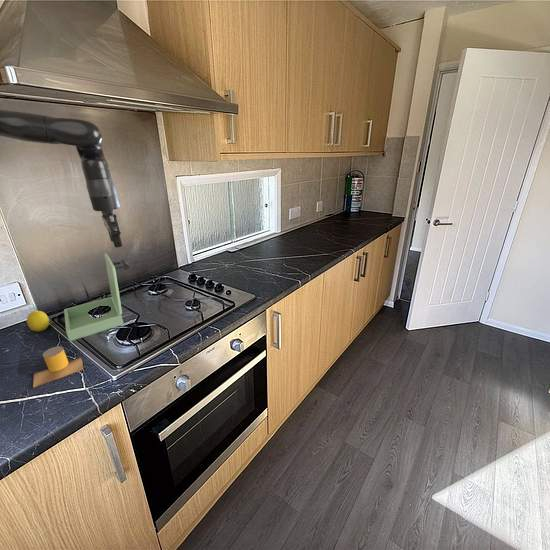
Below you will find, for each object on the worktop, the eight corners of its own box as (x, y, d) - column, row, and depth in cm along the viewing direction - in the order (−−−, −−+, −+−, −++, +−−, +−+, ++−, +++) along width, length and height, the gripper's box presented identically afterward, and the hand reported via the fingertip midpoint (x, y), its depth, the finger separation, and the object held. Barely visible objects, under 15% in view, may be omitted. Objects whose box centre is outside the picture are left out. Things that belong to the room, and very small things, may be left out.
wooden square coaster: (33, 387, 74) (33, 386, 74) (35, 364, 83) (34, 363, 82) (83, 369, 80) (83, 368, 80) (80, 349, 88) (79, 348, 88)
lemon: (54, 331, 98) (46, 310, 95) (34, 338, 94) (24, 317, 91) (50, 325, 102) (42, 305, 98) (30, 332, 98) (21, 311, 95)
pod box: (70, 343, 91) (66, 331, 90) (67, 319, 105) (63, 309, 103) (124, 326, 100) (121, 315, 98) (115, 306, 113) (112, 296, 111)
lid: (112, 267, 92) (132, 264, 95) (104, 253, 105) (122, 251, 108) (119, 314, 98) (138, 310, 101) (111, 295, 111) (127, 292, 114)
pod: (48, 374, 78) (42, 359, 76) (48, 364, 82) (42, 350, 80) (69, 367, 81) (63, 352, 79) (68, 358, 84) (62, 344, 82)
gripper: (87, 193, 94) (101, 241, 100) (91, 197, 83) (106, 251, 90) (112, 190, 98) (125, 237, 104) (119, 194, 87) (133, 246, 93)
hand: (116, 243), depth 97 cm, fingers open, 8 cm apart
